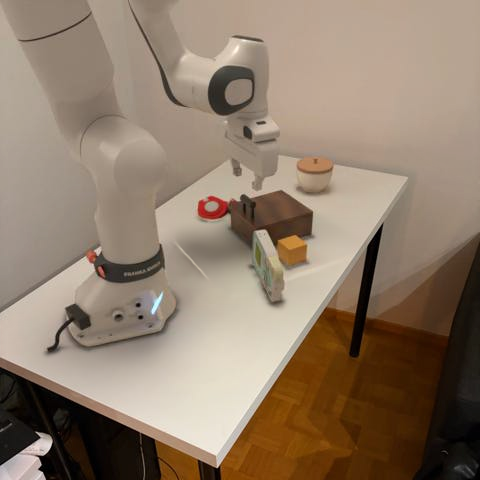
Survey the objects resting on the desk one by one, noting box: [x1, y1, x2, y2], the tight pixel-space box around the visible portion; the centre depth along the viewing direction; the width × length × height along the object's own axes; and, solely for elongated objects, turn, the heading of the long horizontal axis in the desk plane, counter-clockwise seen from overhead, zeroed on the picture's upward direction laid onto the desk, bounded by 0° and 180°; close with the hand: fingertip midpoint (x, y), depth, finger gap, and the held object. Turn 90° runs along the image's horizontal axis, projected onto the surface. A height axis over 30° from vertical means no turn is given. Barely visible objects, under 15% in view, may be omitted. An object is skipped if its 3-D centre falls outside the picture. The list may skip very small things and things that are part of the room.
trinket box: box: [296, 156, 335, 194], centre depth 142 cm, size 11×11×9 cm
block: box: [276, 235, 308, 266], centre depth 113 cm, size 5×5×5 cm
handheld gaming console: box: [251, 230, 285, 303], centre depth 105 cm, size 11×3×15 cm
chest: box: [229, 209, 314, 247], centre depth 123 cm, size 16×15×6 cm
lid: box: [227, 189, 314, 231], centre depth 120 cm, size 16×15×5 cm
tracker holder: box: [197, 195, 238, 220], centre depth 134 cm, size 12×4×10 cm
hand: (246, 182), depth 113 cm, fingers open, 8 cm apart
